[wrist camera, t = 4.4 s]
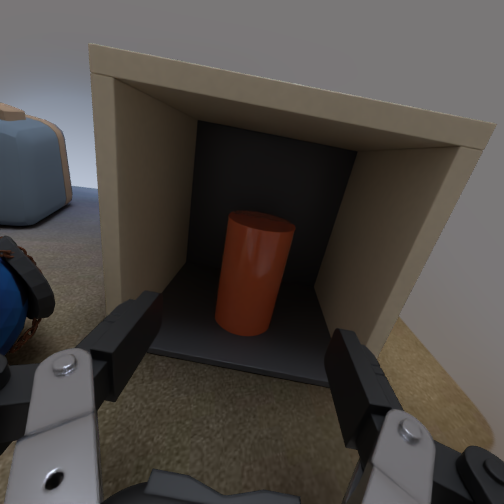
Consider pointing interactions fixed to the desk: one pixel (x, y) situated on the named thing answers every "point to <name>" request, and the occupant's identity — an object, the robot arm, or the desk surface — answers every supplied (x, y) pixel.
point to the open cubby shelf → (268, 202)
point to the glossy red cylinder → (252, 271)
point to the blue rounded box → (31, 168)
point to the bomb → (20, 295)
